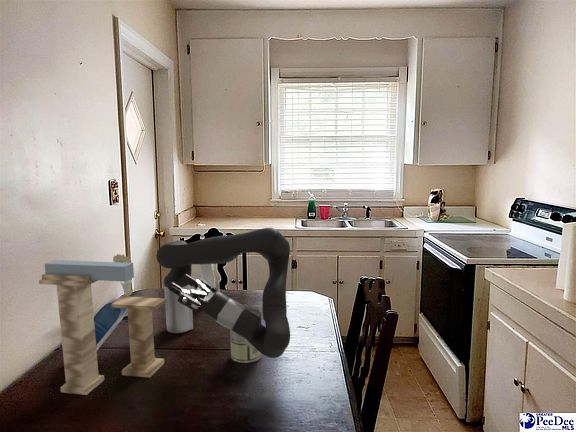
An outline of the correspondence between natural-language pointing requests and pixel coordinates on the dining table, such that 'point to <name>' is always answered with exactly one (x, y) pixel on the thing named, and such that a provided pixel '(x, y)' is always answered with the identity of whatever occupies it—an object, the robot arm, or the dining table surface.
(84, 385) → the tall stand
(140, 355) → the short wooden pedestal
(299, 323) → the dining table surface
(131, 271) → the bar
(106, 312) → the blue food package
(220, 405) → the dining table surface
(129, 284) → the flower in vase
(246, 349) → the coffee can
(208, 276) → the skyscraper
